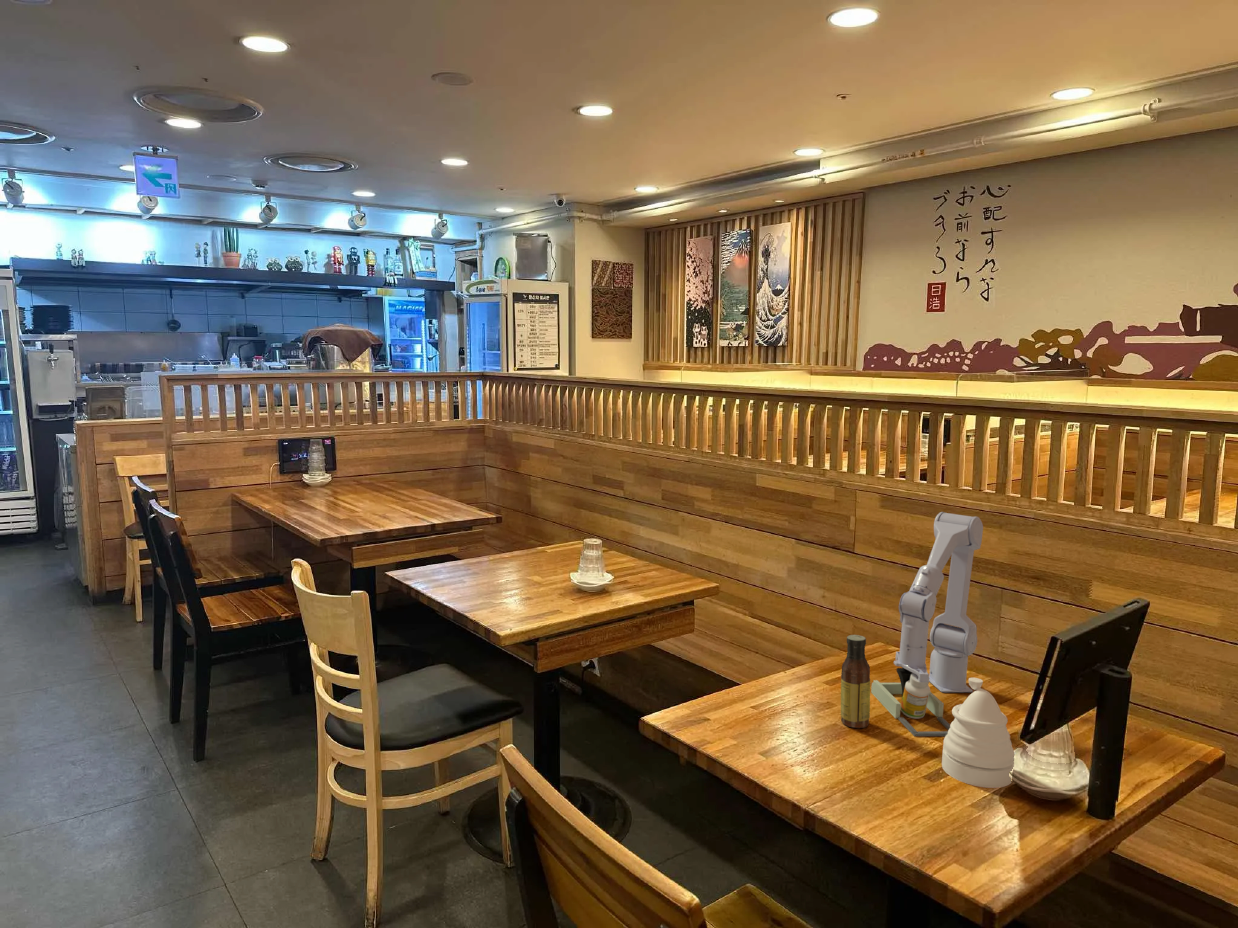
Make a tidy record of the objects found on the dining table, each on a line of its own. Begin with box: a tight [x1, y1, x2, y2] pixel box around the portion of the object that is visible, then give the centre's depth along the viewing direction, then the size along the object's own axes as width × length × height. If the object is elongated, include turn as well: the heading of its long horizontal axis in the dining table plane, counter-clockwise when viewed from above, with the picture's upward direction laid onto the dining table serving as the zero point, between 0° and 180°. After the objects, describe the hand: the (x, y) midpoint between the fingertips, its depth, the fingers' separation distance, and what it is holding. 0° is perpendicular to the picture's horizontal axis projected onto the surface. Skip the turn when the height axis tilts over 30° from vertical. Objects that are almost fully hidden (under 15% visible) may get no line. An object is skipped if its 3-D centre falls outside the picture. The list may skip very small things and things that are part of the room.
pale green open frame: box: [870, 679, 944, 720], centre depth 192 cm, size 15×11×4 cm
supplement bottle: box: [900, 673, 931, 720], centre depth 186 cm, size 5×5×10 cm
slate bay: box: [897, 716, 951, 737], centre depth 180 cm, size 8×10×1 cm
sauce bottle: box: [840, 634, 871, 729], centre depth 180 cm, size 7×6×20 cm
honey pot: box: [941, 677, 1015, 789], centre depth 160 cm, size 13×13×18 cm
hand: (908, 700), depth 189 cm, fingers closed, pressing on supplement bottle
